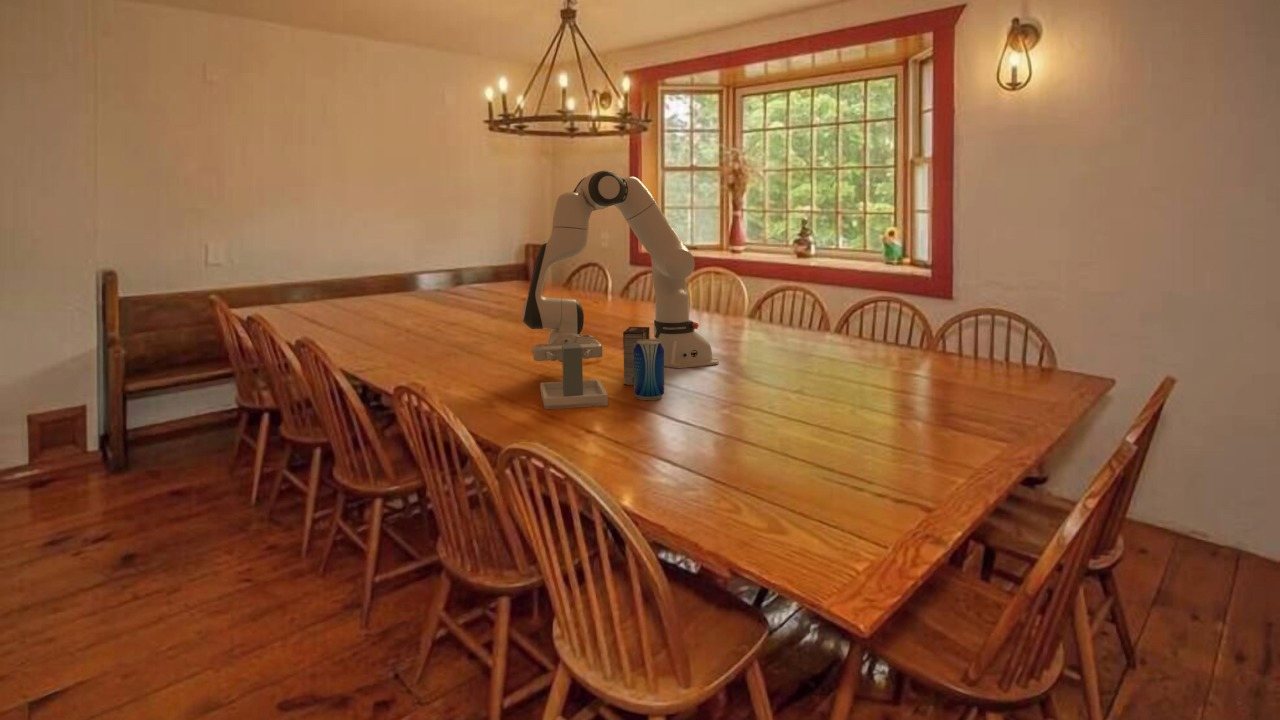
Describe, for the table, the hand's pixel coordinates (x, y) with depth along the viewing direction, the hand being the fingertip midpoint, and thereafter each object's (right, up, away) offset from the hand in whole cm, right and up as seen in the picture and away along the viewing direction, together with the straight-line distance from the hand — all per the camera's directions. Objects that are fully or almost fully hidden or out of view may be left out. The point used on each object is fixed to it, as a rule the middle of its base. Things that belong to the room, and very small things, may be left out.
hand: (570, 357), depth 223 cm
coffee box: (+19, -8, +14) cm, 25 cm away
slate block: (+1, -11, -4) cm, 12 cm away
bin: (+1, -12, -4) cm, 12 cm away
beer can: (+22, -12, -3) cm, 25 cm away
